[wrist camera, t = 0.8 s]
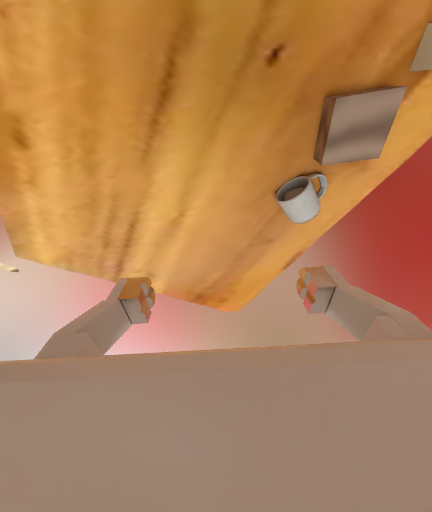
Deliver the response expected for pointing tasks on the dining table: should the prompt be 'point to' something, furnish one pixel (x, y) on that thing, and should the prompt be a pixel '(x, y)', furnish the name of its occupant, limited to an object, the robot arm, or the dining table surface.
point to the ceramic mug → (301, 198)
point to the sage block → (424, 52)
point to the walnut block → (356, 124)
